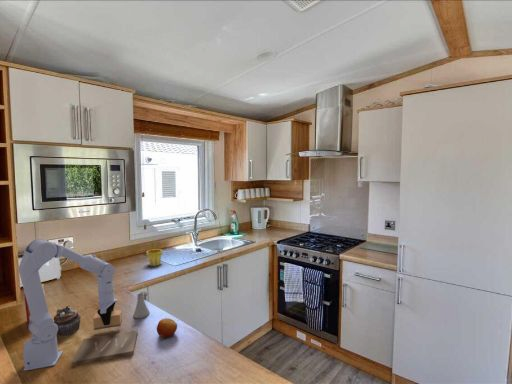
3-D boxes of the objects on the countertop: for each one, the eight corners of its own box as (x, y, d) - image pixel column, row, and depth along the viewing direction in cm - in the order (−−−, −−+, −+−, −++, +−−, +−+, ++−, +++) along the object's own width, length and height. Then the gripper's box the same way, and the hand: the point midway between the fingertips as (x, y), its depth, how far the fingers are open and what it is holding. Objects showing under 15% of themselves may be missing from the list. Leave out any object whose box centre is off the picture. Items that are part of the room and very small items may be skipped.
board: (72, 366, 102) (71, 361, 102) (83, 342, 116) (83, 339, 115) (133, 354, 108) (133, 350, 107) (137, 333, 121) (137, 330, 121)
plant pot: (148, 262, 209) (147, 249, 208) (163, 261, 211) (162, 248, 210) (146, 267, 199) (145, 253, 198) (161, 266, 201) (161, 252, 200)
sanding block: (93, 330, 120) (93, 318, 119) (96, 324, 124) (95, 313, 123) (120, 326, 122) (119, 314, 122) (122, 320, 127) (121, 309, 126)
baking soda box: (29, 319, 134) (26, 286, 132) (46, 315, 137) (43, 282, 136) (27, 329, 126) (24, 293, 124) (46, 324, 130) (43, 289, 128)
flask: (133, 312, 138) (132, 292, 137) (149, 309, 141) (148, 290, 140) (132, 320, 132) (131, 299, 131) (149, 317, 134) (148, 296, 133)
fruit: (149, 334, 118) (157, 314, 120) (165, 336, 123) (173, 317, 125) (158, 342, 112) (167, 321, 115) (174, 344, 117) (182, 324, 120)
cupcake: (63, 339, 118) (61, 315, 117) (50, 333, 123) (47, 310, 122) (86, 327, 127) (84, 305, 126) (73, 322, 131) (71, 301, 130)
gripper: (113, 296, 116) (115, 329, 117) (119, 282, 130) (121, 311, 131) (93, 299, 114) (95, 332, 115) (102, 284, 128) (104, 314, 129)
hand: (108, 321), depth 123 cm, fingers closed on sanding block, 4 cm apart
